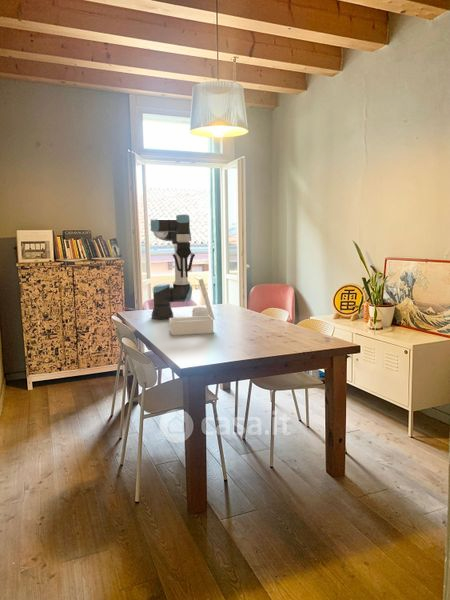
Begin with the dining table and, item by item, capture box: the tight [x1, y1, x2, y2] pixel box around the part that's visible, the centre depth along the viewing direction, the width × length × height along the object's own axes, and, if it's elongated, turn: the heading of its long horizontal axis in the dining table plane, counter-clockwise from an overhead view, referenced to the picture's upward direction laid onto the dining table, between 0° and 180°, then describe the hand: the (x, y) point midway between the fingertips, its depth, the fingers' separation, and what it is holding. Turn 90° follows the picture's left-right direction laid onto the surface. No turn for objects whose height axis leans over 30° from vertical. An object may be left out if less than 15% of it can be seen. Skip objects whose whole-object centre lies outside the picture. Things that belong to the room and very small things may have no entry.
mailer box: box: [168, 316, 214, 337], centre depth 261 cm, size 13×24×8 cm, turn 104°
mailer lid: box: [195, 276, 216, 321], centre depth 260 cm, size 13×25×2 cm
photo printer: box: [191, 306, 210, 317], centre depth 277 cm, size 10×4×12 cm, turn 85°
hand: (184, 283), depth 256 cm, fingers closed
